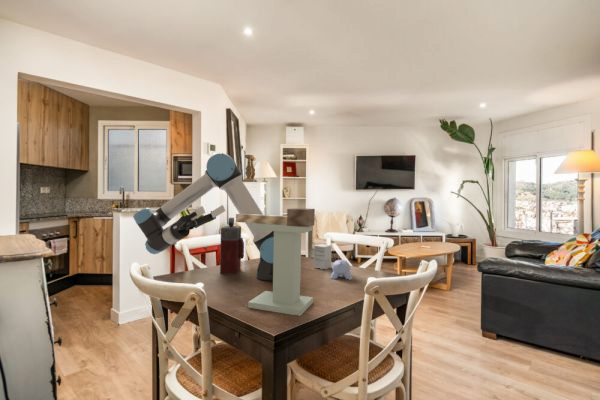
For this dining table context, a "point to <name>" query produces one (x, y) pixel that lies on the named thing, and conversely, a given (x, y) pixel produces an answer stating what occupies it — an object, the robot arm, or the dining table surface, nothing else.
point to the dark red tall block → (231, 248)
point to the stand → (284, 272)
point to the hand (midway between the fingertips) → (214, 208)
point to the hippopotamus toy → (341, 269)
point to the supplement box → (322, 256)
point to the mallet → (282, 218)
